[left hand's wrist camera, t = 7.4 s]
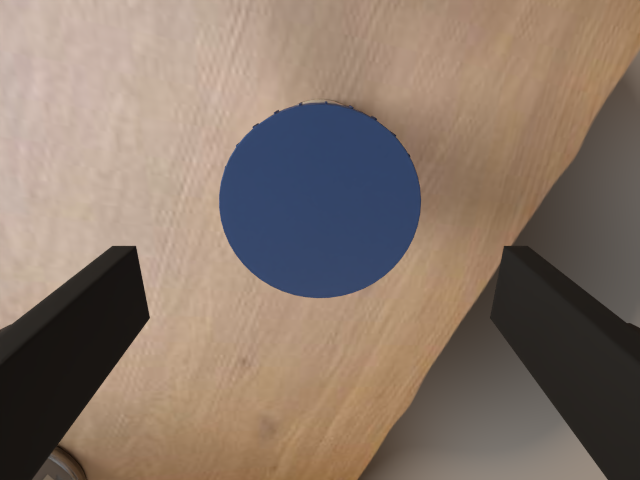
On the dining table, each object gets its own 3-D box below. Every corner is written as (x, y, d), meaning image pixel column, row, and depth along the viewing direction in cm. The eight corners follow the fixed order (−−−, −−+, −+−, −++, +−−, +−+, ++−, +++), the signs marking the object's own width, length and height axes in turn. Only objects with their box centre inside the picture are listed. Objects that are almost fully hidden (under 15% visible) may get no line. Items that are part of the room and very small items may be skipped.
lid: (266, 65, 20) (260, 62, 18) (448, 152, 21) (461, 159, 19) (202, 242, 23) (191, 257, 21) (362, 305, 25) (365, 324, 23)
